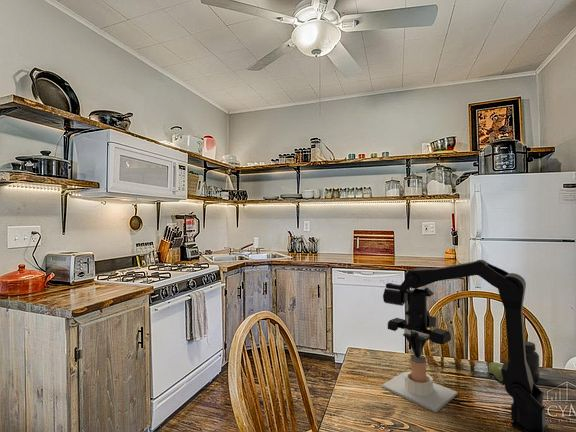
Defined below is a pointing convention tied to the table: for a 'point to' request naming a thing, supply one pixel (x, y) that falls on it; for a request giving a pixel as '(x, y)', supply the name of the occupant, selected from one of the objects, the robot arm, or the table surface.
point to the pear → (496, 370)
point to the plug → (418, 368)
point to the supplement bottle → (532, 360)
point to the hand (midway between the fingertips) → (418, 356)
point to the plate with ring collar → (420, 391)
